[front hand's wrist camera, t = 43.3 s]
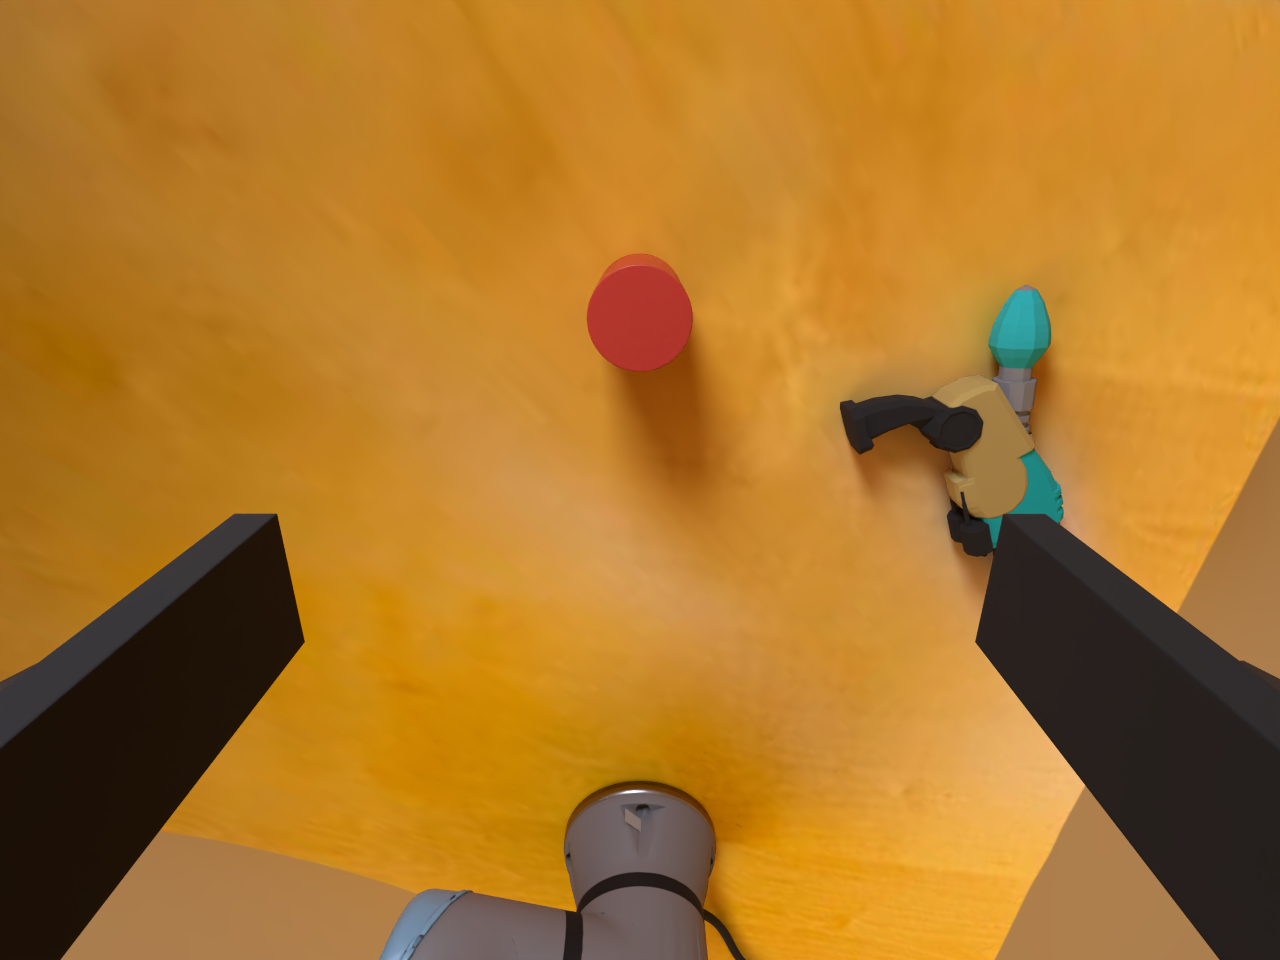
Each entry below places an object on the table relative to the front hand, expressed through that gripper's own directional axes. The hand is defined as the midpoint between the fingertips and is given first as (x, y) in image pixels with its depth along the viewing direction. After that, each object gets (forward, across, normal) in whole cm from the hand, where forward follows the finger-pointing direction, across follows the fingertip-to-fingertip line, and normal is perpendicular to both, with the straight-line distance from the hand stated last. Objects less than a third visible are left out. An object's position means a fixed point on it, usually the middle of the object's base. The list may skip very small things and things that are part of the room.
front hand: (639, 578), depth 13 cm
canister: (+41, 0, 0) cm, 41 cm away
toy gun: (+41, -25, +13) cm, 50 cm away
